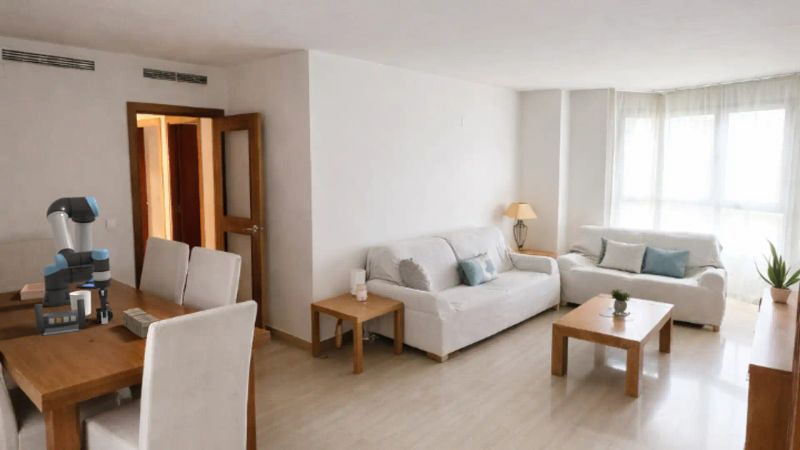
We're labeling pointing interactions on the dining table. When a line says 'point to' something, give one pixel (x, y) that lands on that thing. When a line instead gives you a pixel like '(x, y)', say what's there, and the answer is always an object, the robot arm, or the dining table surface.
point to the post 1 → (39, 318)
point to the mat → (61, 329)
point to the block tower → (138, 321)
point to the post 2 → (81, 313)
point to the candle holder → (81, 295)
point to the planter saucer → (33, 291)
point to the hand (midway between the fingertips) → (105, 320)
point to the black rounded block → (109, 313)
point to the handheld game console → (87, 285)
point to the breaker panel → (60, 318)
